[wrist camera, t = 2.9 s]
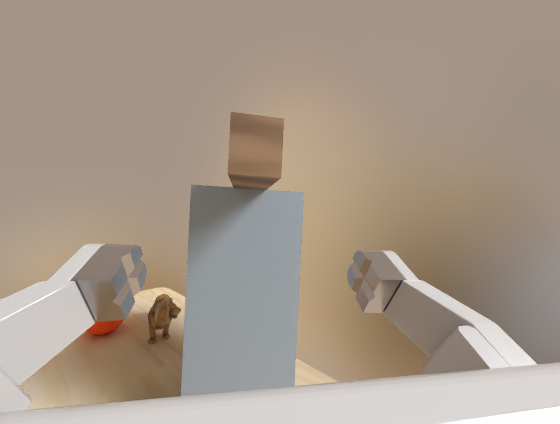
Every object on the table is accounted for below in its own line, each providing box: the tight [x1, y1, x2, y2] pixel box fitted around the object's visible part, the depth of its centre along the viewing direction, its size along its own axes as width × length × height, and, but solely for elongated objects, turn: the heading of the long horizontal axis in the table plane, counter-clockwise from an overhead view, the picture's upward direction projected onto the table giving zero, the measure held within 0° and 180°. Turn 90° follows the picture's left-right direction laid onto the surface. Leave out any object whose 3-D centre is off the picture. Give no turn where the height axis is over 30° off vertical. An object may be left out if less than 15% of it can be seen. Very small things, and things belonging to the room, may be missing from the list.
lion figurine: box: [148, 294, 181, 344], centre depth 46 cm, size 15×5×9 cm, turn 35°
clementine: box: [86, 320, 123, 335], centre depth 44 cm, size 8×7×7 cm
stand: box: [181, 185, 304, 396], centre depth 30 cm, size 13×12×29 cm
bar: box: [228, 112, 284, 190], centre depth 25 cm, size 22×4×4 cm, turn 10°
